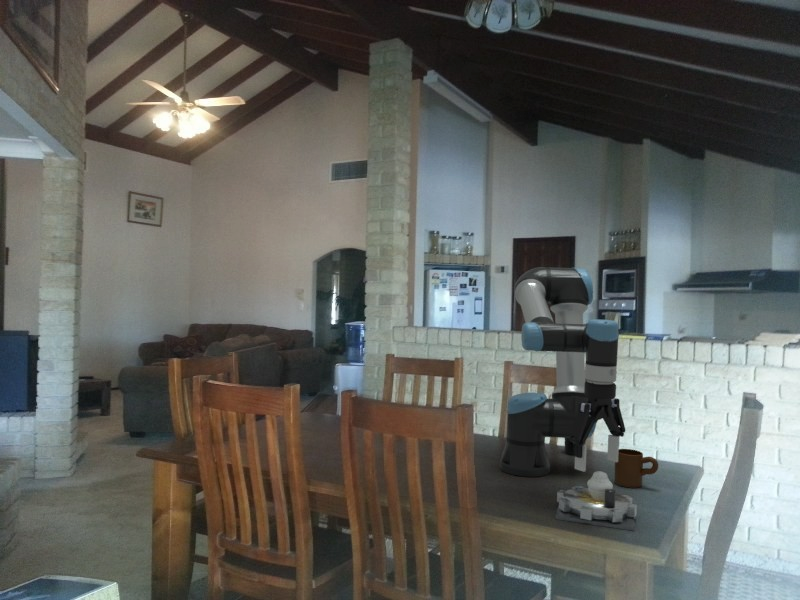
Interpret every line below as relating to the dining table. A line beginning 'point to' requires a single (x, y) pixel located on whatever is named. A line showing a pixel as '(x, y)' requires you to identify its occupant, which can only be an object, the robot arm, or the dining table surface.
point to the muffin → (599, 485)
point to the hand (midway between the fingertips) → (596, 465)
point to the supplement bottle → (569, 447)
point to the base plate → (596, 520)
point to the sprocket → (596, 504)
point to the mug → (632, 468)
